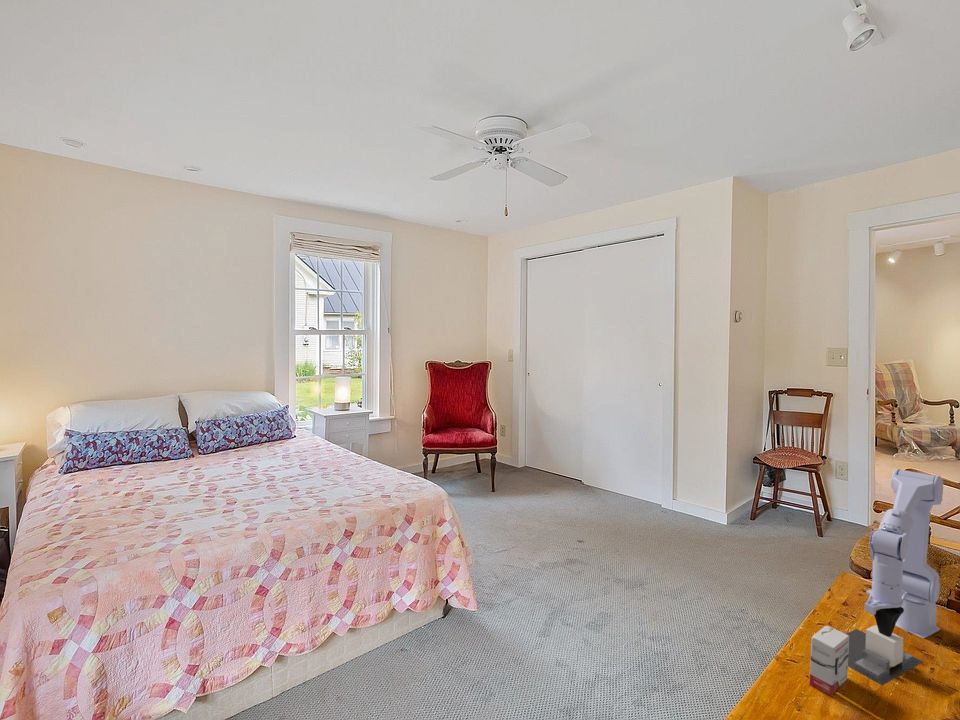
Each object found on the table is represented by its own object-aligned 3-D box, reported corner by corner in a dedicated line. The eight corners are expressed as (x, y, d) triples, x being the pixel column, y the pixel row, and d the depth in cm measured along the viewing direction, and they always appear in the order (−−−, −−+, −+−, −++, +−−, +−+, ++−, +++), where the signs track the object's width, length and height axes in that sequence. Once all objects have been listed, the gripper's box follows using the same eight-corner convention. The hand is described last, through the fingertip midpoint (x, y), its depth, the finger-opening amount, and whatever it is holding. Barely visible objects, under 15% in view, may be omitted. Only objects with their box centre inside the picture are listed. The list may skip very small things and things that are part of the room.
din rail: (856, 631, 138) (856, 618, 138) (923, 664, 124) (923, 649, 124) (815, 651, 130) (815, 637, 130) (881, 688, 117) (882, 672, 116)
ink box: (832, 697, 114) (833, 647, 114) (808, 684, 119) (809, 636, 118) (848, 682, 119) (850, 634, 118) (825, 670, 123) (826, 623, 122)
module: (874, 647, 128) (875, 624, 127) (902, 661, 122) (903, 638, 122) (865, 652, 126) (866, 629, 126) (893, 666, 121) (894, 642, 120)
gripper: (884, 566, 129) (883, 617, 130) (851, 579, 123) (849, 633, 124) (918, 578, 123) (916, 632, 124) (884, 593, 117) (882, 649, 118)
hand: (885, 633), depth 124 cm, fingers closed
